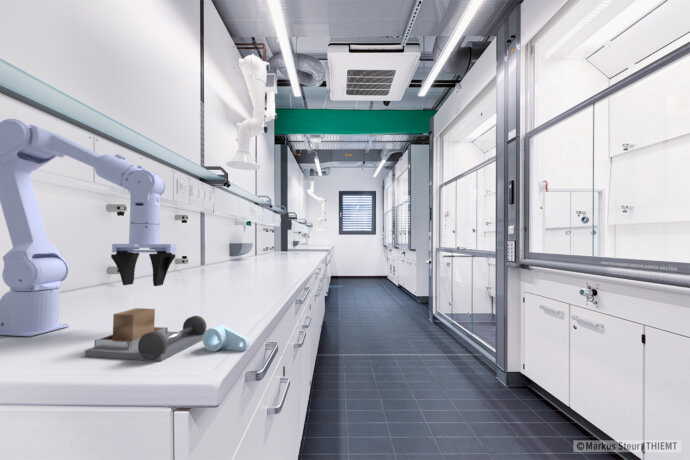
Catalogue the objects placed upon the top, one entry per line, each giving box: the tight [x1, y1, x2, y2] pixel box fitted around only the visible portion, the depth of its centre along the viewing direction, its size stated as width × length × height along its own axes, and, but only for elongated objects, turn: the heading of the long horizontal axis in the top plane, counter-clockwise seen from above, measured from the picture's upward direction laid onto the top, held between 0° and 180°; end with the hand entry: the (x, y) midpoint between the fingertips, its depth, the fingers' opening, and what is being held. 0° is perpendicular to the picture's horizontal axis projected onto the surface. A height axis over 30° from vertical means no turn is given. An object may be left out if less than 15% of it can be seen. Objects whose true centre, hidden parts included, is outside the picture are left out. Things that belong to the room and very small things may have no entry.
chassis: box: [84, 315, 207, 362], centre depth 57 cm, size 14×12×4 cm
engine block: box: [112, 307, 156, 341], centre depth 57 cm, size 4×5×5 cm
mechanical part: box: [202, 324, 250, 352], centre depth 55 cm, size 8×2×4 cm, turn 73°
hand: (143, 285), depth 70 cm, fingers open, 7 cm apart
